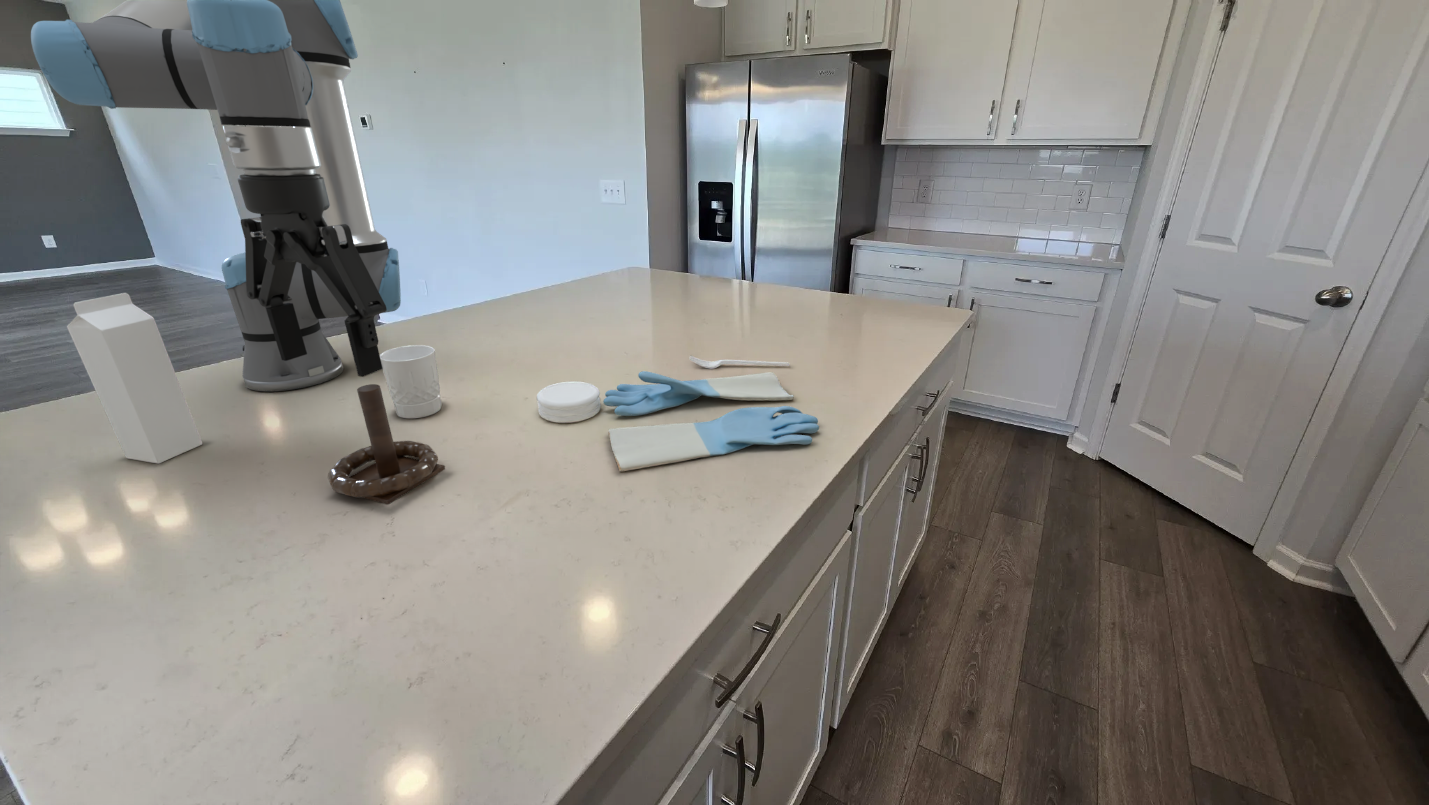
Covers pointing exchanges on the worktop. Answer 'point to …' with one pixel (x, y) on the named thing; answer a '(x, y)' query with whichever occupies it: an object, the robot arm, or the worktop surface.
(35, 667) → the worktop surface
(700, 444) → the rubber gloves
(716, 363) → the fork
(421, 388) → the white cup
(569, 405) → the white short cylinder
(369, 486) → the ring
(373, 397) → the stand
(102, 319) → the milk
